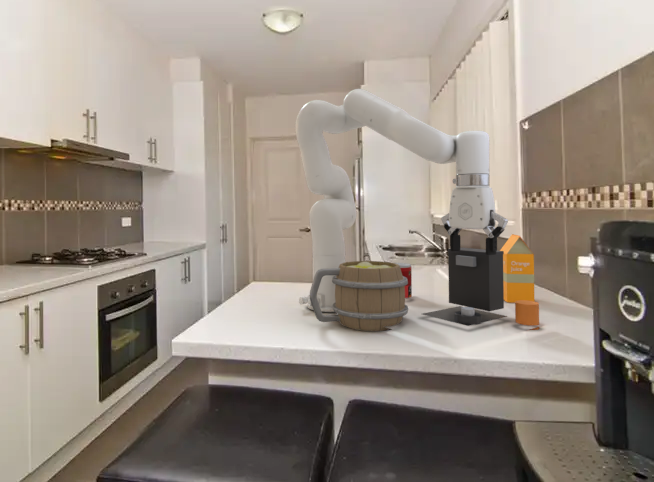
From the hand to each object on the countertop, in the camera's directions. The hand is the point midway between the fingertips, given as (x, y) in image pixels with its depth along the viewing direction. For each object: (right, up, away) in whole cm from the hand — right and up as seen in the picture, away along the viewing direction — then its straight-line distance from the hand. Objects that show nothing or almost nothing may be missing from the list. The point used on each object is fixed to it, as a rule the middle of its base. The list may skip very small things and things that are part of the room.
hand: (472, 252), depth 110 cm
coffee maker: (+4, -15, +8) cm, 18 cm away
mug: (-27, -18, +3) cm, 33 cm away
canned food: (-10, -18, +32) cm, 38 cm away
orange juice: (+26, -18, +29) cm, 43 cm away
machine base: (0, -18, +6) cm, 19 cm away
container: (+12, -18, -2) cm, 22 cm away
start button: (-1, -15, 0) cm, 15 cm away
